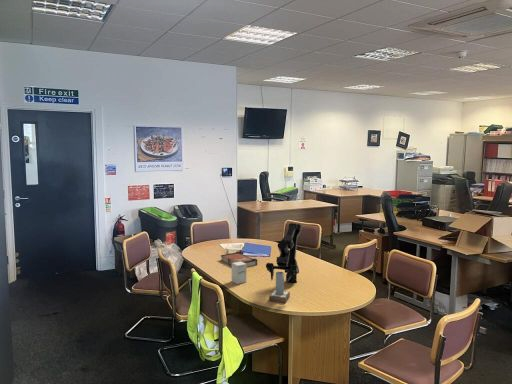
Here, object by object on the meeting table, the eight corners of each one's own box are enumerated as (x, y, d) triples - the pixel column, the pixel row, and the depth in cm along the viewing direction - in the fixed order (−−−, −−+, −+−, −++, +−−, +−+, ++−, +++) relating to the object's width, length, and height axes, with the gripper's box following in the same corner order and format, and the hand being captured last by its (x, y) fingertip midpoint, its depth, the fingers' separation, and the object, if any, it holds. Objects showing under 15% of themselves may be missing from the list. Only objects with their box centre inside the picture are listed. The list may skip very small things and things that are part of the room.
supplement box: (237, 284, 258) (237, 265, 256) (231, 281, 264) (231, 262, 262) (246, 282, 262) (246, 263, 261) (240, 279, 268) (240, 261, 267)
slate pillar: (279, 291, 237) (279, 271, 236) (285, 293, 234) (285, 273, 232) (273, 293, 234) (274, 272, 232) (279, 295, 230) (280, 275, 229)
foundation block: (273, 294, 240) (273, 289, 240) (289, 296, 237) (289, 291, 237) (269, 300, 231) (269, 295, 231) (285, 303, 228) (286, 297, 228)
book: (219, 260, 311) (219, 254, 311) (238, 257, 321) (238, 251, 321) (237, 269, 290) (237, 263, 289) (257, 265, 300) (257, 259, 299)
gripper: (266, 249, 237) (261, 273, 228) (297, 252, 232) (293, 276, 223) (270, 258, 246) (264, 281, 237) (299, 261, 240) (295, 285, 231)
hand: (279, 281), depth 232 cm, fingers open, 9 cm apart
